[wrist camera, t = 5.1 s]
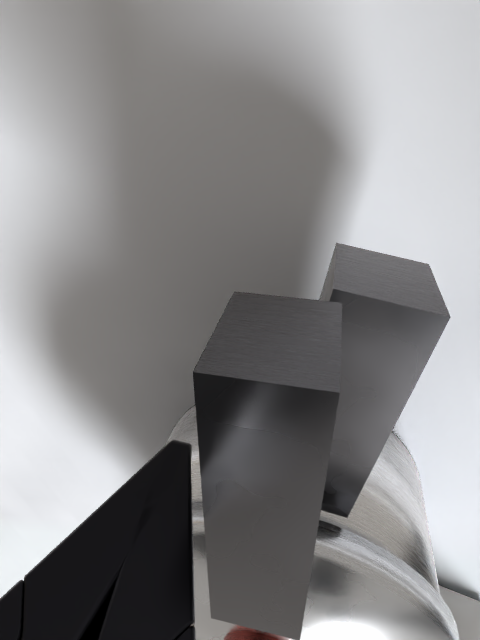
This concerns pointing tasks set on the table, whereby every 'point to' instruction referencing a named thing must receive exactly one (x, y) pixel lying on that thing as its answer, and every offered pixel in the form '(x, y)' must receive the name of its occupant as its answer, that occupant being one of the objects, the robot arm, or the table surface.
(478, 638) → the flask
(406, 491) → the pot
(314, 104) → the table surface
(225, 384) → the lid
